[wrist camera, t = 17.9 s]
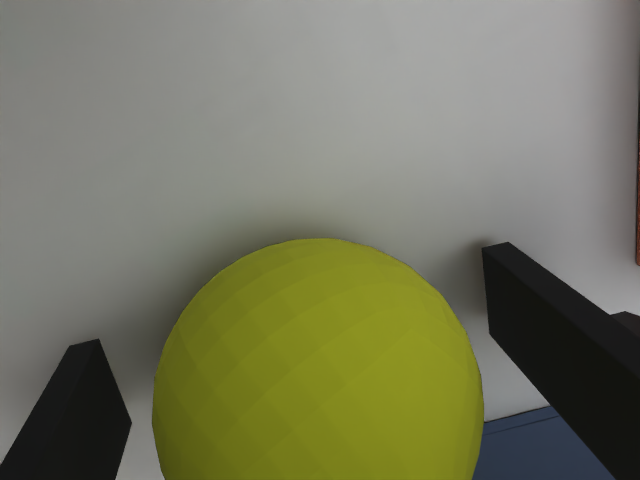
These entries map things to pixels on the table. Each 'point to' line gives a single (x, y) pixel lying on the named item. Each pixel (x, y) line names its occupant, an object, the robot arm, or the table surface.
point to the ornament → (318, 373)
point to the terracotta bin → (639, 224)
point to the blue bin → (535, 450)
